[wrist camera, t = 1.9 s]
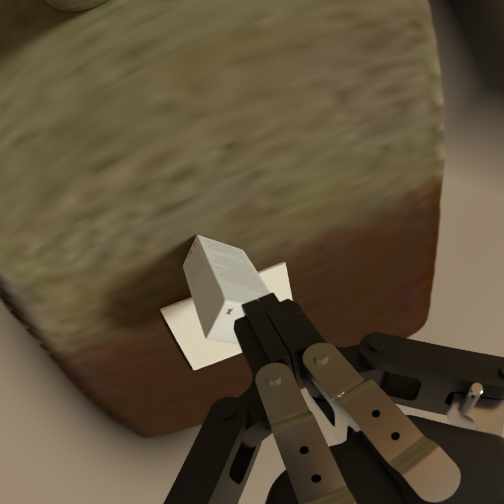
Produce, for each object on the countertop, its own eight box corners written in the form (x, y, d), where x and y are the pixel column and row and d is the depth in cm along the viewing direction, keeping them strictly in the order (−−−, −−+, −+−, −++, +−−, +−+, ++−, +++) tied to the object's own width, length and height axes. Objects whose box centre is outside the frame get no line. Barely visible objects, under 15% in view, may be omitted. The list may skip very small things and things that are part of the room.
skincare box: (181, 266, 35) (202, 339, 25) (196, 233, 34) (224, 298, 24) (228, 279, 38) (263, 349, 28) (244, 249, 37) (287, 313, 27)
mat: (160, 308, 37) (160, 310, 36) (284, 261, 39) (285, 263, 39) (193, 368, 43) (193, 370, 43) (296, 327, 46) (297, 329, 46)
